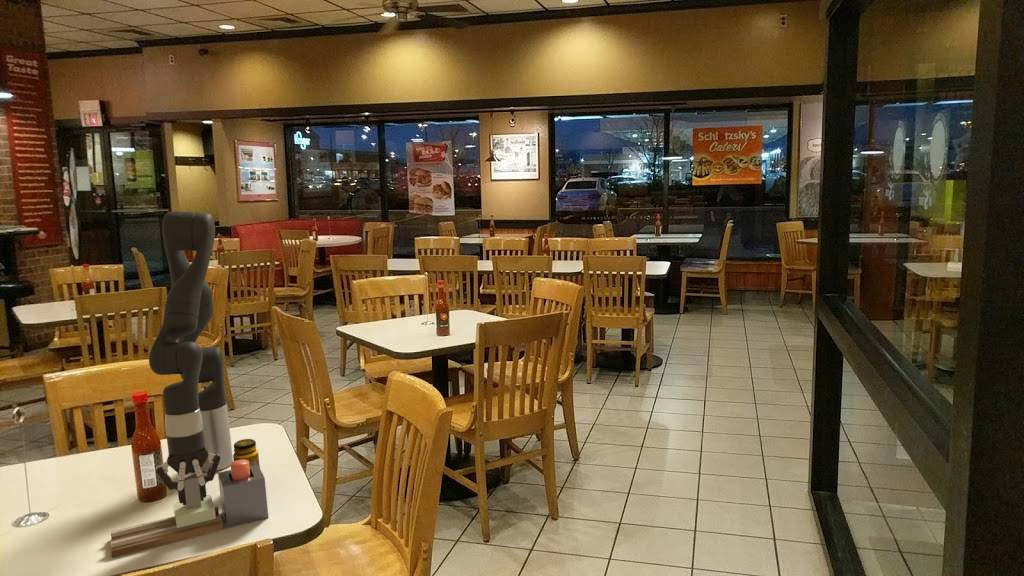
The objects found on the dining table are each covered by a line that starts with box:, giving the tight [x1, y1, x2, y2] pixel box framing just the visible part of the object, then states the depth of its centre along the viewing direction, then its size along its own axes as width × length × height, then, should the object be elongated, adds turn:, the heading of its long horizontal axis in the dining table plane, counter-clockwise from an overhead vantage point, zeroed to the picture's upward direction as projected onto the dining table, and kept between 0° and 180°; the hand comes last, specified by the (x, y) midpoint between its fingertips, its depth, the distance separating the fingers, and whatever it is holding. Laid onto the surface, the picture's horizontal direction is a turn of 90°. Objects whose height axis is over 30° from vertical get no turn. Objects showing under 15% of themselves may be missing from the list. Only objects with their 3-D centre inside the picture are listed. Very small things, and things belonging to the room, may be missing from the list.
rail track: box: [110, 505, 224, 559], centre depth 160 cm, size 9×22×2 cm, turn 119°
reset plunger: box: [230, 460, 250, 481], centre depth 166 cm, size 4×4×6 cm
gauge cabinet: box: [217, 464, 269, 529], centre depth 167 cm, size 9×9×10 cm
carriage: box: [172, 473, 216, 528], centre depth 161 cm, size 8×8×10 cm
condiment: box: [232, 438, 266, 487], centre depth 182 cm, size 7×8×12 cm
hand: (193, 501), depth 161 cm, fingers closed on carriage, 3 cm apart
